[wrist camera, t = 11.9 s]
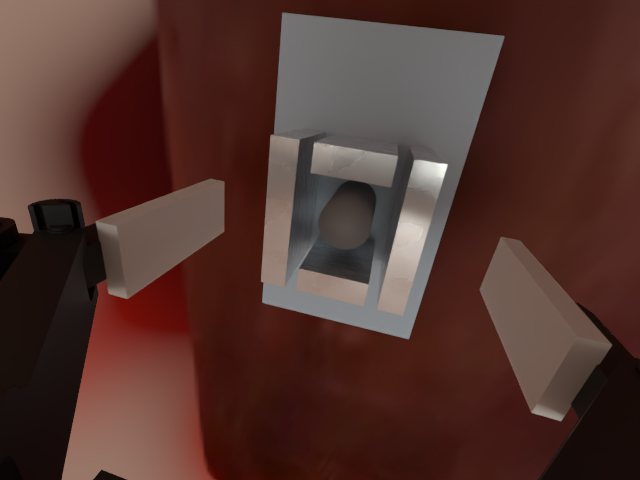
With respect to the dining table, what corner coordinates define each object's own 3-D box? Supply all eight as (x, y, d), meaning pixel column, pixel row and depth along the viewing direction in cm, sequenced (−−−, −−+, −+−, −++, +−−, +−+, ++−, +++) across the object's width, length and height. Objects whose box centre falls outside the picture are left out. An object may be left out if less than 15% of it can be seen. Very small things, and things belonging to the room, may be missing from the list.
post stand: (496, 41, 17) (547, 7, 12) (408, 327, 26) (411, 391, 20) (290, 19, 19) (244, -21, 13) (268, 293, 27) (234, 343, 21)
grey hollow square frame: (432, 148, 19) (447, 164, 13) (401, 265, 22) (402, 315, 17) (304, 128, 20) (270, 135, 15) (292, 241, 23) (260, 281, 18)
